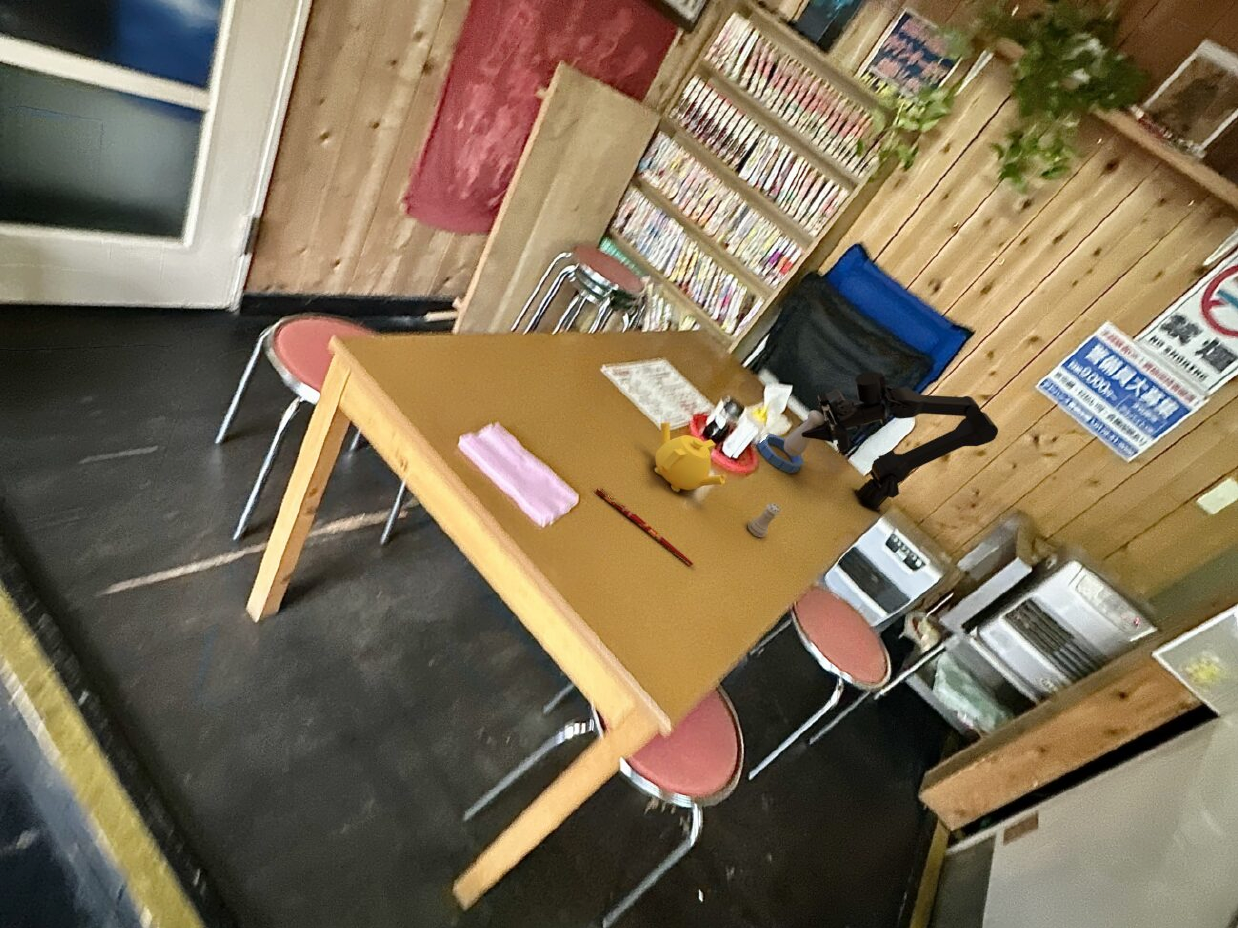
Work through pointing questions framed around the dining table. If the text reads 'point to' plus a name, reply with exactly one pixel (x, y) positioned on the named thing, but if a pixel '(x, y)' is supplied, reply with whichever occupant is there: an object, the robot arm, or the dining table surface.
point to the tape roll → (776, 459)
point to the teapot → (685, 461)
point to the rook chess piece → (763, 520)
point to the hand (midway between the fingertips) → (800, 430)
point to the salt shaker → (795, 440)
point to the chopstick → (644, 526)
